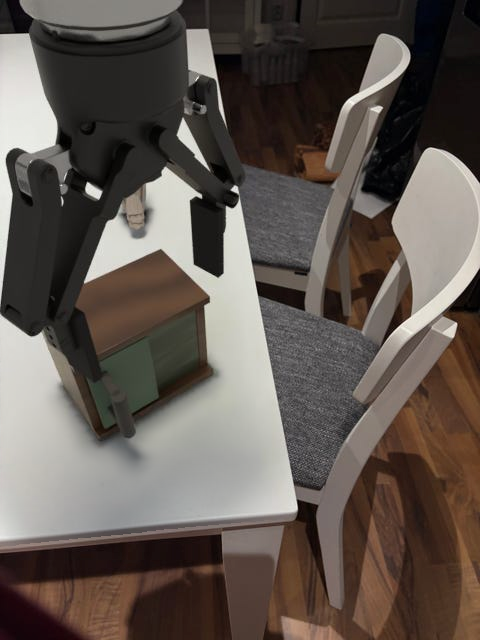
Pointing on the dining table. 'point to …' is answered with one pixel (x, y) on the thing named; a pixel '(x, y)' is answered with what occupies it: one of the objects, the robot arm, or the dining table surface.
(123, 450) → the dining table surface
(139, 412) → the cupboard
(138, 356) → the sliding door
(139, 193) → the bird
